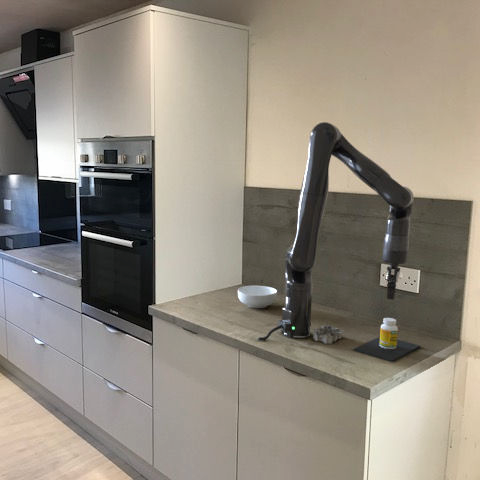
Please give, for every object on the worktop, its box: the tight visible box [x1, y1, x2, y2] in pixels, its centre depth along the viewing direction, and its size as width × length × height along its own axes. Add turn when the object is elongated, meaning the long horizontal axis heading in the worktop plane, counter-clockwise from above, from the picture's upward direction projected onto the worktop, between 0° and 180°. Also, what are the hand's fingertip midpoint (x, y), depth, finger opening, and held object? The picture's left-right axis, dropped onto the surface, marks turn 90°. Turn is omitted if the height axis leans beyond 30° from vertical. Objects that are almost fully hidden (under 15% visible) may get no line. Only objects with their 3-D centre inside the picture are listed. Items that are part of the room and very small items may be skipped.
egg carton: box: [311, 323, 344, 345], centre depth 186 cm, size 11×8×4 cm
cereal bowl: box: [237, 285, 278, 309], centre depth 226 cm, size 17×17×7 cm
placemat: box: [353, 336, 421, 363], centre depth 177 cm, size 20×13×1 cm, turn 131°
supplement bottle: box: [379, 317, 399, 349], centre depth 176 cm, size 5×5×10 cm
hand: (390, 295), depth 174 cm, fingers open, 8 cm apart
